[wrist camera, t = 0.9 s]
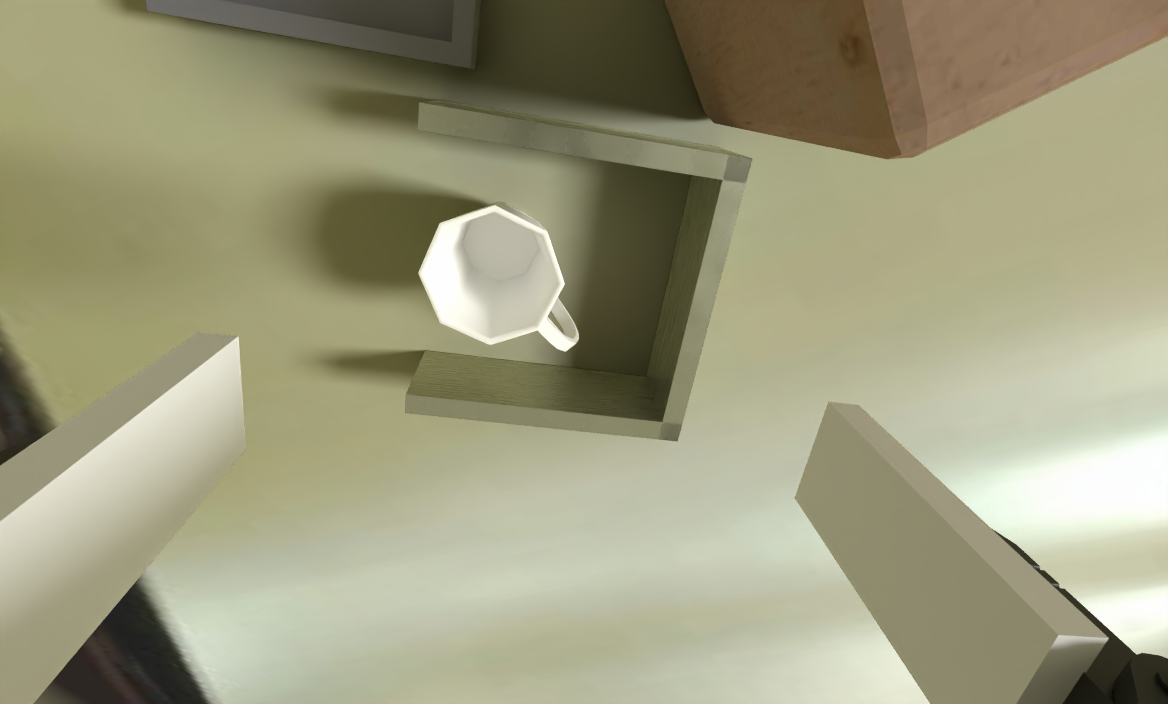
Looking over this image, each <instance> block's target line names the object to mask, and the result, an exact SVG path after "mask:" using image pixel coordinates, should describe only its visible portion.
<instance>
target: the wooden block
mask: <svg viewBox="0 0 1168 704" xmlns="http://www.w3.org/2000/svg"><path fill="white" fill-rule="evenodd" d="M664 1H665V4H666V7H667V10H668V13H669V15H670V18H671V21H672V24H673V26H674V29H675V32H676V35H677V37H678V40H679V43H680V46H681V48H682V51H683V54H684V57H685V59H686V62H687V65H688V68H689V71H690V73H691V76H692V79H693V82H694V84H695V87H696V90H697V93H698V95H699V98H700V101H701V104H702V106H703V109H704V112H705V114H706V115H707V116H708V117H709V118H710V119H711V120H712V121H713V122H714V123H716V124H721V125H726V126H731V127H736V128H740V129H745V130H750V131H755V132H759V133H764V134H769V135H774V136H779V137H783V138H788V139H793V140H798V141H803V142H807V143H812V144H817V145H822V146H826V147H831V148H836V149H841V150H846V151H850V152H855V153H860V154H865V155H869V156H874V157H879V158H884V159H896V158H911V157H915V156H917V155H919V154H922V153H924V152H926V151H928V150H930V149H932V148H934V147H936V146H938V145H940V144H943V143H945V142H947V141H949V140H951V139H953V138H955V137H957V136H959V135H961V134H964V133H966V132H968V131H970V130H972V129H974V128H976V127H978V126H980V125H982V124H985V123H987V122H989V121H991V120H993V119H995V118H997V117H999V116H1001V115H1003V114H1006V113H1008V112H1010V111H1012V110H1014V109H1016V108H1018V107H1020V106H1022V105H1025V104H1027V103H1029V102H1031V101H1033V100H1035V99H1037V98H1039V97H1041V96H1043V95H1046V94H1048V93H1050V92H1052V91H1054V90H1056V89H1058V88H1060V87H1062V86H1064V85H1067V84H1069V83H1071V82H1073V81H1075V80H1077V79H1079V78H1081V77H1083V76H1085V75H1088V74H1090V73H1092V72H1094V71H1096V70H1098V69H1100V68H1102V67H1104V66H1106V65H1109V64H1111V63H1113V62H1115V61H1117V60H1119V59H1121V58H1123V57H1125V56H1127V55H1130V54H1132V53H1134V52H1136V51H1138V50H1140V49H1142V48H1144V47H1146V46H1149V45H1151V44H1153V43H1155V42H1157V41H1159V40H1161V39H1163V38H1165V37H1167V36H1168V0H664Z"/></svg>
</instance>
